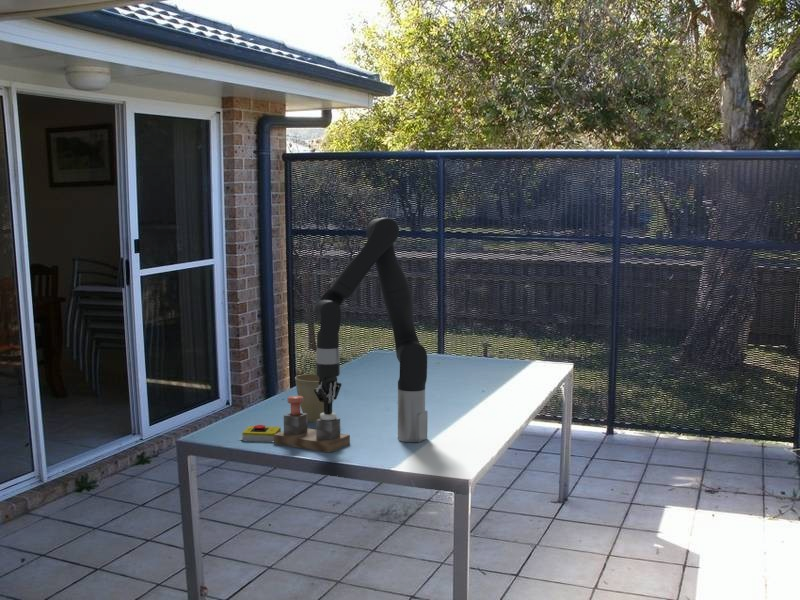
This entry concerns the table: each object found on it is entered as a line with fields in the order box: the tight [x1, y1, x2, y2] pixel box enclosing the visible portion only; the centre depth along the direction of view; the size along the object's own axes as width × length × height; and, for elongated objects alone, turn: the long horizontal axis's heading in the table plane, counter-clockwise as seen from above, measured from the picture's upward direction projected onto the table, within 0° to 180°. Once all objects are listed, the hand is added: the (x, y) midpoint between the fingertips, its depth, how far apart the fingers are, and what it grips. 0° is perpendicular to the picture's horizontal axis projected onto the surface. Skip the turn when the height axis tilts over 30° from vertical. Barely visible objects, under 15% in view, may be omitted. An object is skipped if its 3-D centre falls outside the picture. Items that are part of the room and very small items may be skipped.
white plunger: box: [320, 411, 337, 421], centre depth 262 cm, size 5×5×7 cm
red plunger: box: [287, 395, 303, 416], centre depth 268 cm, size 5×5×7 cm
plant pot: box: [294, 373, 324, 423], centre depth 297 cm, size 15×15×16 cm
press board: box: [273, 412, 351, 453], centre depth 266 cm, size 22×12×9 cm, turn 61°
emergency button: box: [238, 424, 282, 442], centre depth 273 cm, size 9×4×15 cm
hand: (328, 413), depth 262 cm, fingers closed
